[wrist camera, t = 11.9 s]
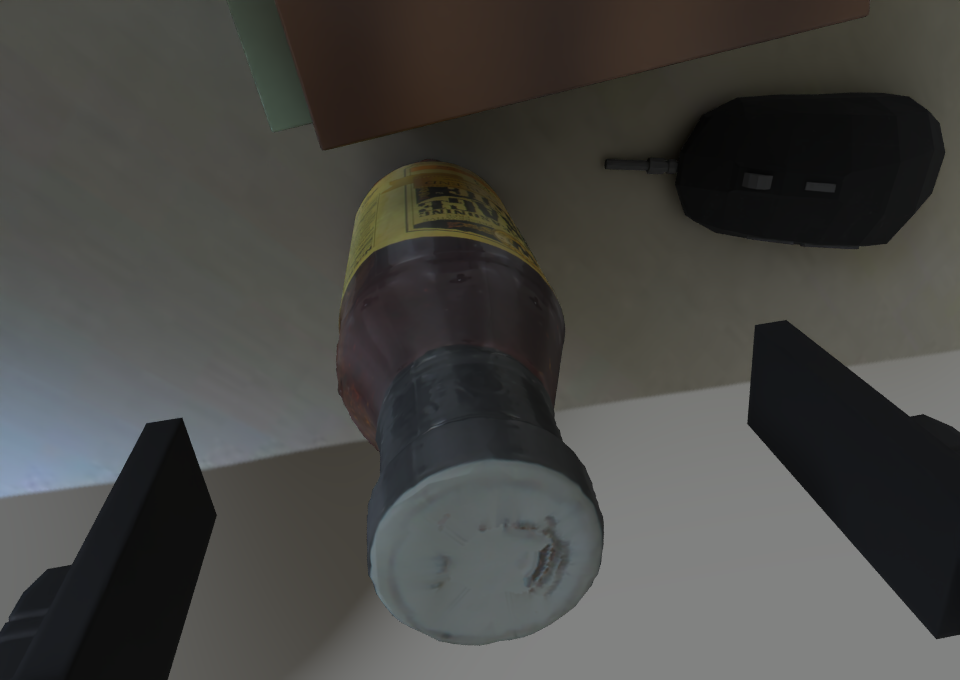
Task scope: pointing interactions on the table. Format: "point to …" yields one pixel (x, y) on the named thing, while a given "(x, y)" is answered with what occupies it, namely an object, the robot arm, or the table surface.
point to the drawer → (270, 63)
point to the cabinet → (505, 50)
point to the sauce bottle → (461, 413)
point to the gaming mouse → (807, 168)
